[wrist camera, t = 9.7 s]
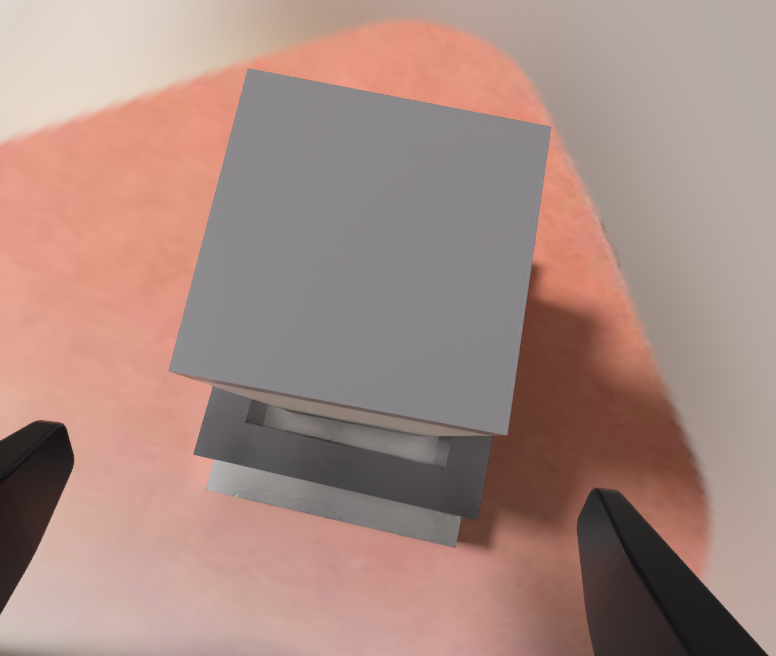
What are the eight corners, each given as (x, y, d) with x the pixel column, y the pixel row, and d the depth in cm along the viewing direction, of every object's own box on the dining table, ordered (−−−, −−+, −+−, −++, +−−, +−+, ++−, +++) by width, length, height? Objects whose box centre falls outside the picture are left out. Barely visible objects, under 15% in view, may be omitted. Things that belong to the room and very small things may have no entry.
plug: (418, 436, 20) (507, 435, 7) (290, 411, 20) (168, 370, 7) (439, 311, 21) (551, 127, 8) (317, 288, 21) (247, 68, 8)
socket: (448, 539, 21) (472, 567, 16) (216, 485, 21) (176, 499, 16) (504, 255, 23) (538, 211, 18) (294, 207, 23) (277, 151, 18)
